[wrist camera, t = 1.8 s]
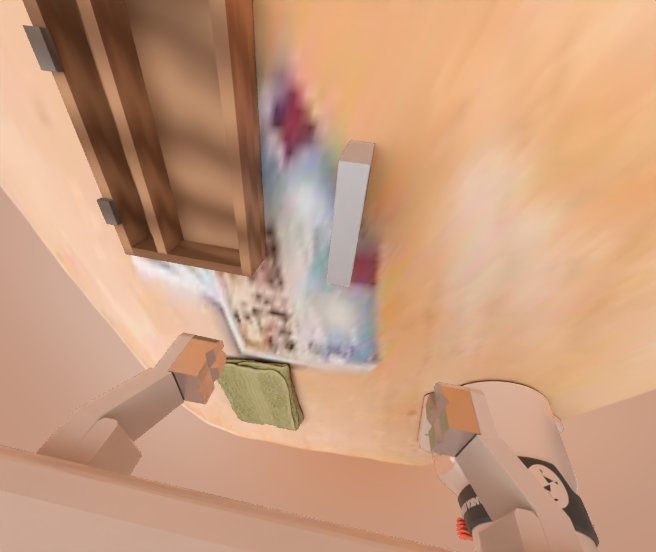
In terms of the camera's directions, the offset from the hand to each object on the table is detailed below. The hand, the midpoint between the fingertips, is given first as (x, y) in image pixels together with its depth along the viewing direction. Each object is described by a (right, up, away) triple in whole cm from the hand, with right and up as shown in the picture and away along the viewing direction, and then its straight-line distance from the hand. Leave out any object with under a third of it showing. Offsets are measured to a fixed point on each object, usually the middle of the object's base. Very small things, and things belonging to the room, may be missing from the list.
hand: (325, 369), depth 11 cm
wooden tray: (-13, +16, +15) cm, 26 cm away
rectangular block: (+3, +11, +16) cm, 19 cm away
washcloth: (-11, -16, +39) cm, 43 cm away
